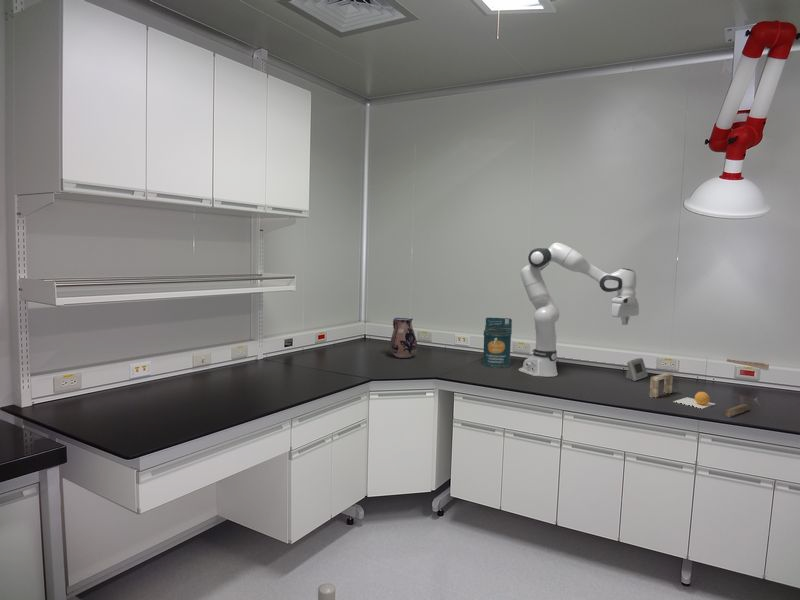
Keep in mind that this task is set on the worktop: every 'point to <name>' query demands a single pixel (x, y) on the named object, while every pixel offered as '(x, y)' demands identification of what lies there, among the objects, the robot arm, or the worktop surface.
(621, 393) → the worktop surface
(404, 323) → the ceramic pitcher
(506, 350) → the teal food package
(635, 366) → the digital clock
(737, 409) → the stopper
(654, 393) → the bridge
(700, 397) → the ball
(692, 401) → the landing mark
